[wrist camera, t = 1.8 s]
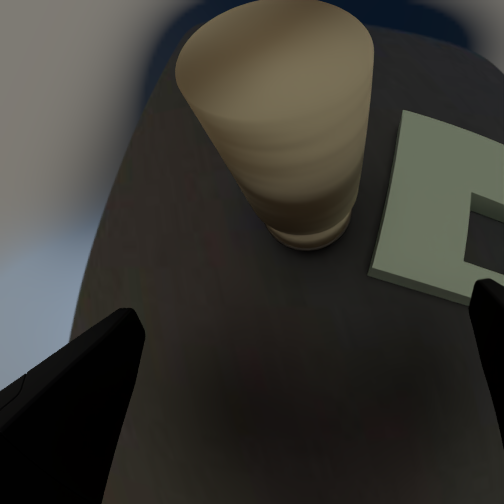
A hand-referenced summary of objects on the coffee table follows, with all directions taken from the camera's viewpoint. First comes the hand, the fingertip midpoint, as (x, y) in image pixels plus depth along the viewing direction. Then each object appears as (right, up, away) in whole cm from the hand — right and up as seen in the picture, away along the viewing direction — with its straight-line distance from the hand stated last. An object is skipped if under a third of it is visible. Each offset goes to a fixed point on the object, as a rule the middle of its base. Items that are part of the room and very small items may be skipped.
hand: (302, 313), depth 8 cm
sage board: (+16, +3, +11) cm, 19 cm away
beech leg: (+3, +4, +14) cm, 15 cm away
